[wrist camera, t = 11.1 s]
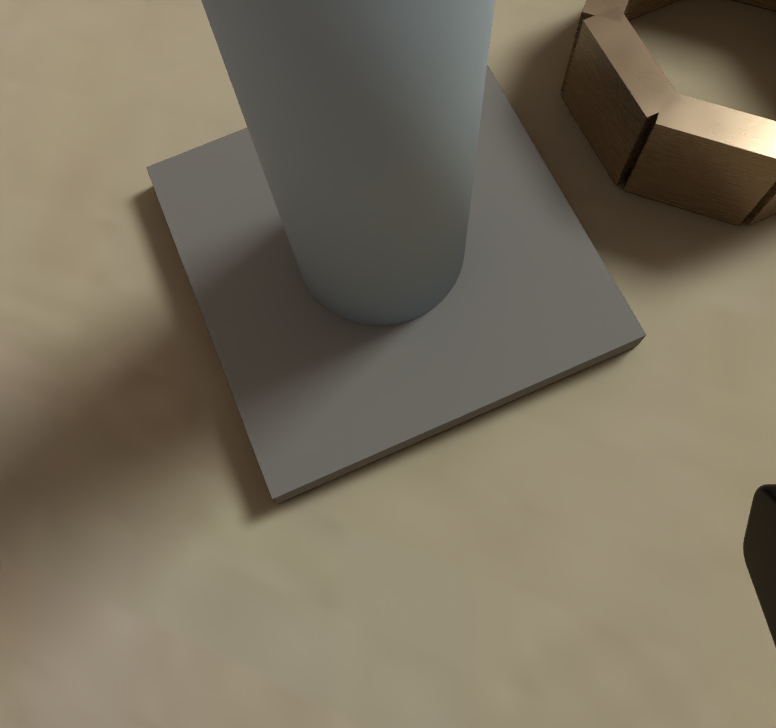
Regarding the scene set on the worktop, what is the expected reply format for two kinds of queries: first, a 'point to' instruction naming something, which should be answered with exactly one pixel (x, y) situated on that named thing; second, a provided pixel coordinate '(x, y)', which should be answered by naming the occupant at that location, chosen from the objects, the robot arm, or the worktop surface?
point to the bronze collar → (665, 123)
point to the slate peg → (364, 138)
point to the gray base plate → (392, 342)
